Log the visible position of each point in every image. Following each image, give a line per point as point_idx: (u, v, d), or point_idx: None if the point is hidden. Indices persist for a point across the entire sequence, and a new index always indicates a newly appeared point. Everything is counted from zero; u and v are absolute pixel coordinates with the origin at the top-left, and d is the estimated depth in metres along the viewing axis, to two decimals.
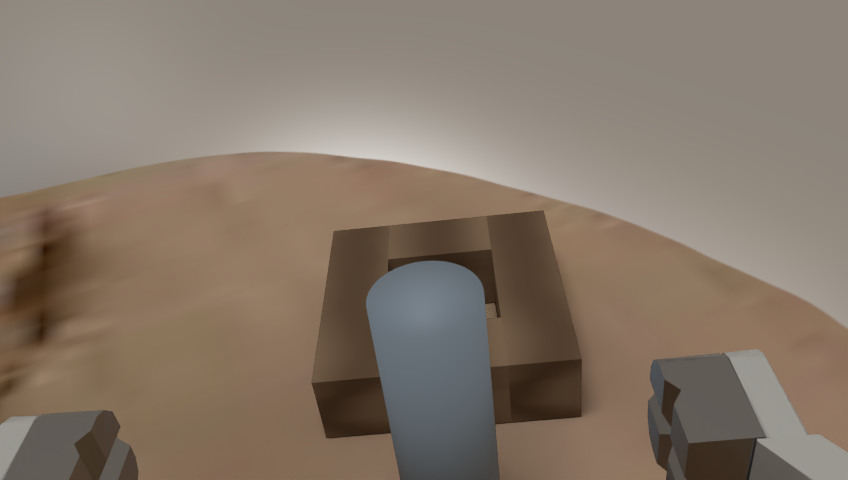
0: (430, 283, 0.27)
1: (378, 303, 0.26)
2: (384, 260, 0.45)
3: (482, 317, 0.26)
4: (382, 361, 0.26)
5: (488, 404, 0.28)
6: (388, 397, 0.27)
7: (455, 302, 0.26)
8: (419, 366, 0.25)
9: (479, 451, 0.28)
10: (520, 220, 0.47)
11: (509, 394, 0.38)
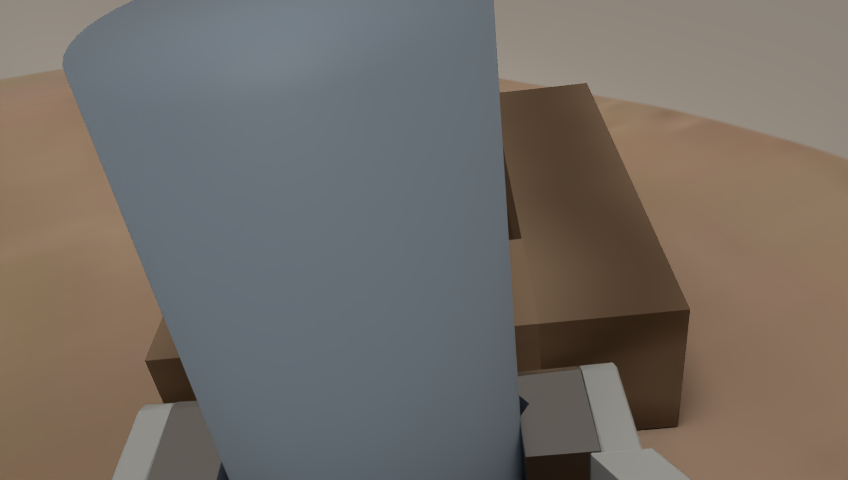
0: None
1: (114, 36, 0.07)
2: None
3: (487, 72, 0.07)
4: (137, 246, 0.07)
5: (506, 398, 0.09)
6: (187, 376, 0.09)
7: (385, 14, 0.07)
8: (240, 244, 0.06)
9: None
10: (549, 97, 0.28)
11: None
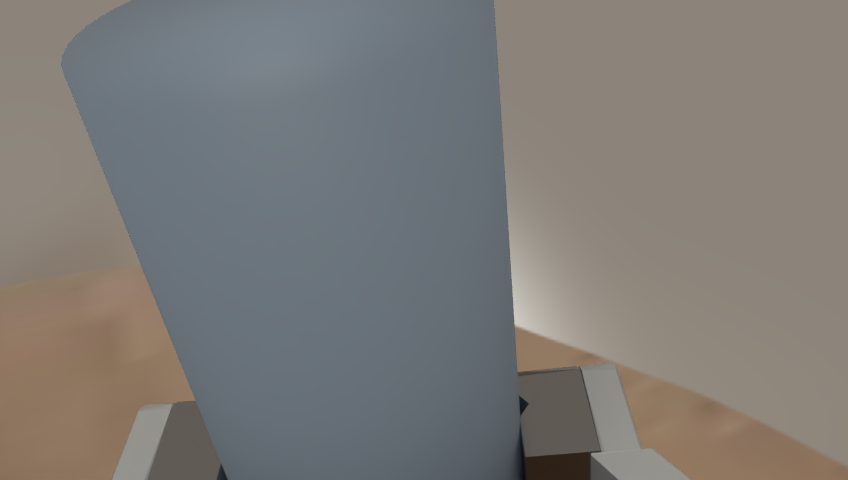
0: None
1: (113, 37, 0.07)
2: None
3: (487, 72, 0.07)
4: (134, 247, 0.07)
5: (506, 399, 0.09)
6: (186, 377, 0.09)
7: (386, 14, 0.07)
8: (240, 246, 0.06)
9: None
10: None
11: None
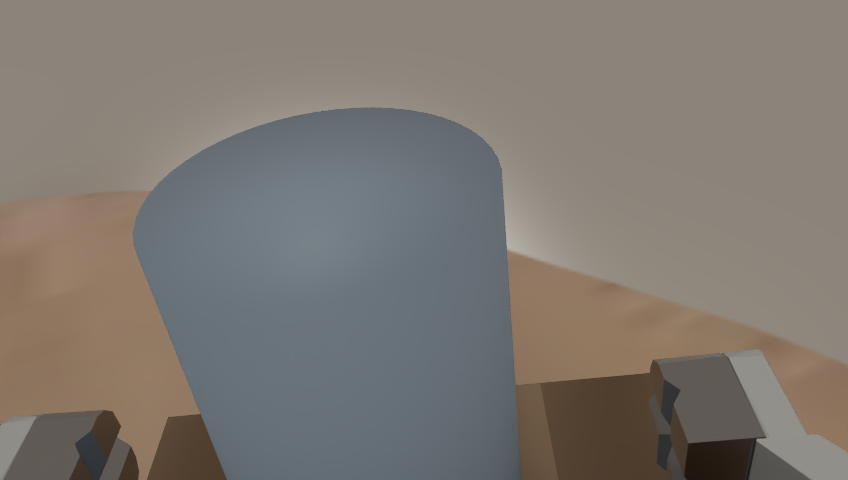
0: (342, 156, 0.09)
1: (175, 210, 0.08)
2: None
3: (497, 249, 0.08)
4: (192, 388, 0.09)
5: None
6: None
7: (410, 200, 0.08)
8: (288, 406, 0.08)
9: None
10: (628, 401, 0.18)
11: None
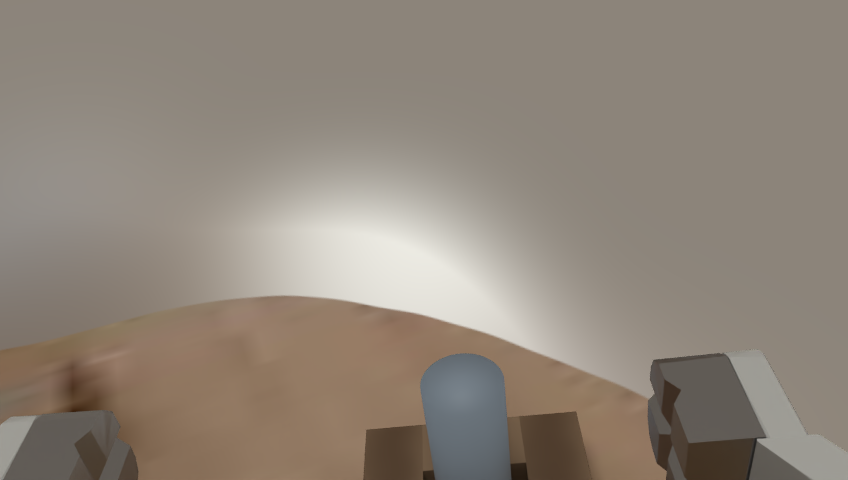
0: (465, 372, 0.37)
1: (429, 388, 0.37)
2: (419, 471, 0.45)
3: (503, 398, 0.36)
4: (431, 428, 0.37)
5: (506, 456, 0.39)
6: (434, 452, 0.38)
7: (483, 387, 0.36)
8: (459, 433, 0.36)
9: None
10: (553, 424, 0.47)
11: None
